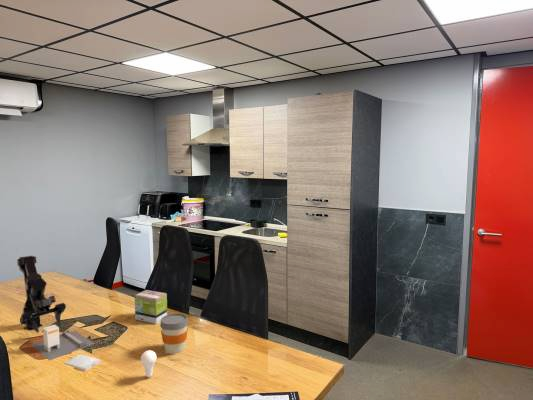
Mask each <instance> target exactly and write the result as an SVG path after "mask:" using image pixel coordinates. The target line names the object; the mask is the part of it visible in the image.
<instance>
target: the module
mask: <svg viewBox="0 0 533 400" xmlns="http://www.w3.org/2000/svg"><path fill="white" fill-rule="evenodd" d="M59 327H60V326H58V325H56V324H52V325H51V324H50V325H49V326H45V327H42V332H43V333H42V334H43V341H44V349H45V350H47V351H48V352H50V351H51V348H50V347H52V346H55V347H56V348H57V349H58V348H60V340H59V336H60V328H59Z"/></svg>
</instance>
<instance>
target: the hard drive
mask: <svg viewBox="0 0 533 400" xmlns="http://www.w3.org/2000/svg"><path fill="white" fill-rule="evenodd" d="M101 362H102V359H98V358H96V357H91V356H87V355H84V354H78V355H75V356H74V357H72V358H70V359H69V360H67V361H65V362H64V365H68V366H72V367H73V368H74V369H77V370H81V371H84V372H87V371H89V370H90V369H92V368H93V367H95V366H96V365H98V364H100V363H101Z"/></svg>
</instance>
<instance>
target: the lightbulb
mask: <svg viewBox="0 0 533 400" xmlns="http://www.w3.org/2000/svg"><path fill="white" fill-rule="evenodd" d="M157 359H158V358H157V353H156V352H155V351H153V350H146V351H144V352H143V353H142V354H141V356H140V363H141V364H142V366H143V367H144V368H143V369H144V372H145V376H146V377H147V378H151V377H152V376H153V372H154V371H153V370H154V365H155V364H156V361H157Z"/></svg>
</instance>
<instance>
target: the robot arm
mask: <svg viewBox="0 0 533 400" xmlns="http://www.w3.org/2000/svg"><path fill="white" fill-rule="evenodd" d="M16 264H17V267H18V269H19V271H21V273H22V274H23V281H24V288H25V296H26V301H25V302H24V304H23V309H22V314H21V316H20V318H19V323H20V325H25V326H24V327H23V329H24V330H29V331H34V332H36V333H39V332H40V330H39V328H40V327H42V326H44V324H42V323H41V318H40V317H41V316H44V315H45V316H46V315H48V314H52V313H53V314H54V318H55V320H56V323H57V326H58V327H60V326H61V317H62V314H63V313H64V312H65V310H66V308H67V306H66V304H65V303H64V302H61V303H57V304H55V305H54V307H52V308H51V305H53V303H56V297H55V295H50V296H49V297H48V298H46V296H45V291H46V287H47V281H46V280H44V278H43V277H42V275H41V274H39V273H38V271H37V267H36V264H38V263H37V256H34V255H27V256H20V257H19V258H18V259H16Z"/></svg>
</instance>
